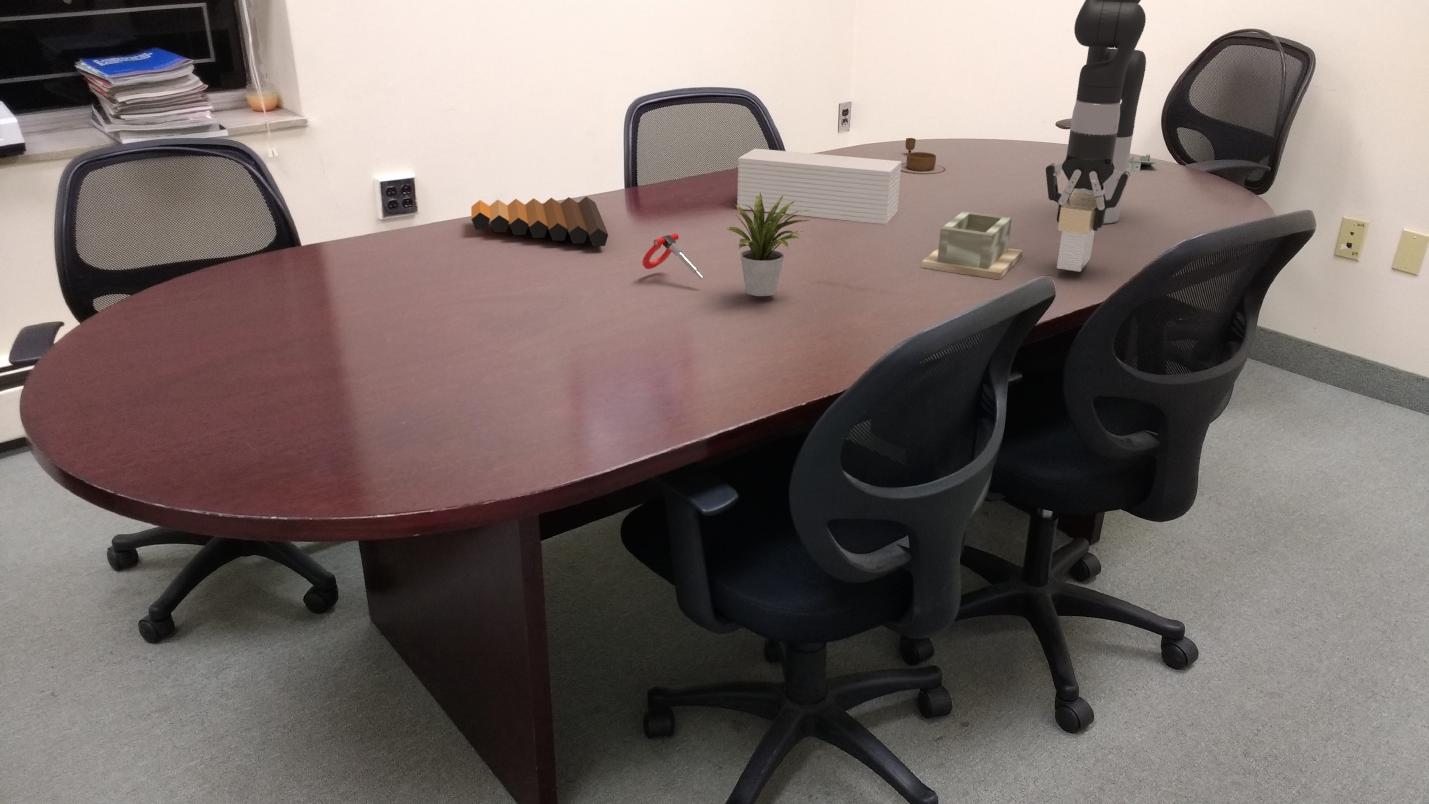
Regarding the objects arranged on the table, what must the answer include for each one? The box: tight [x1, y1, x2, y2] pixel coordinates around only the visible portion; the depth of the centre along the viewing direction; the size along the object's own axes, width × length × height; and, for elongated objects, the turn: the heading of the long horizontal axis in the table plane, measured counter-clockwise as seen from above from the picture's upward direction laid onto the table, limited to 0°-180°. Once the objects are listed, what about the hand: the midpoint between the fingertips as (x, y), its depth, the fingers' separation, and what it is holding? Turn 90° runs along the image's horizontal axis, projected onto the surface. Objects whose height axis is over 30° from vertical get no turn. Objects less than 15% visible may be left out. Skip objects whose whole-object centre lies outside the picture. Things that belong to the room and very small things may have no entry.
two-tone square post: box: [1056, 192, 1097, 272], centre depth 191 cm, size 12×5×11 cm, turn 152°
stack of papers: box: [736, 148, 902, 225], centre depth 230 cm, size 32×11×11 cm, turn 69°
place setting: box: [901, 137, 946, 175], centre depth 269 cm, size 18×20×6 cm
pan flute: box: [470, 196, 609, 247], centre depth 213 cm, size 25×3×25 cm
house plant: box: [726, 193, 810, 297], centre depth 177 cm, size 14×14×16 cm
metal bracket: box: [1127, 154, 1158, 173], centre depth 269 cm, size 14×6×15 cm
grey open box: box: [920, 210, 1023, 281], centre depth 197 cm, size 16×14×7 cm
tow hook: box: [641, 233, 704, 280], centre depth 189 cm, size 7×10×7 cm
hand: (1079, 227), depth 191 cm, fingers closed on two-tone square post, 5 cm apart
